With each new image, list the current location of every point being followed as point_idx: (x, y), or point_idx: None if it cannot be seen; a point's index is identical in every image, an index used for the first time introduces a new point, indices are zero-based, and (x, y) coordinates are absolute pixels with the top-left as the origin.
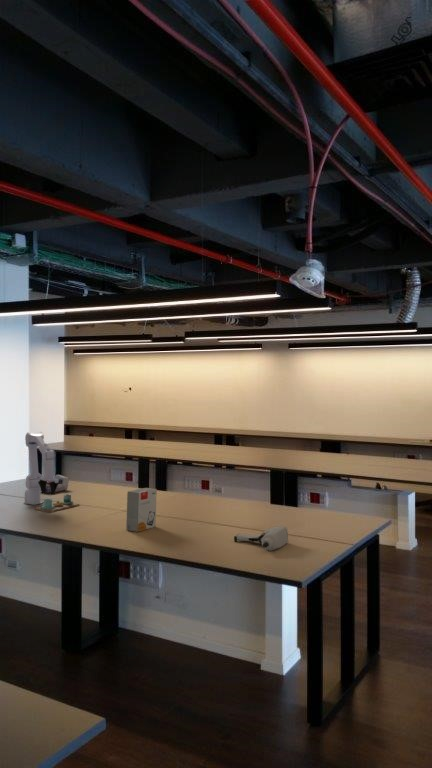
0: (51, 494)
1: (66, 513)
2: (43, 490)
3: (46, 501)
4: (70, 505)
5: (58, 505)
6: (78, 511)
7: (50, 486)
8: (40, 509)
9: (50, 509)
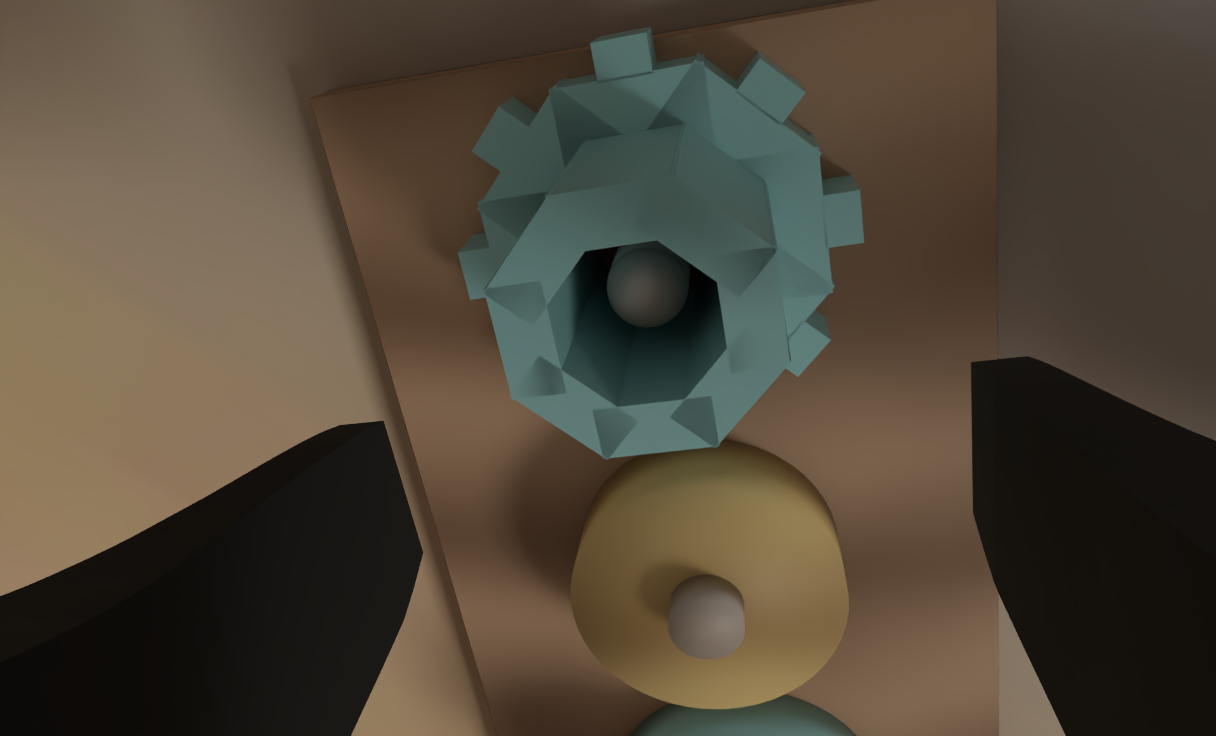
0: (355, 426)
1: (6, 272)
2: (1015, 487)
3: (555, 185)
4: (532, 719)
5: (593, 513)
6: (64, 543)
7: (57, 625)
8: (750, 19)
9: (457, 174)
